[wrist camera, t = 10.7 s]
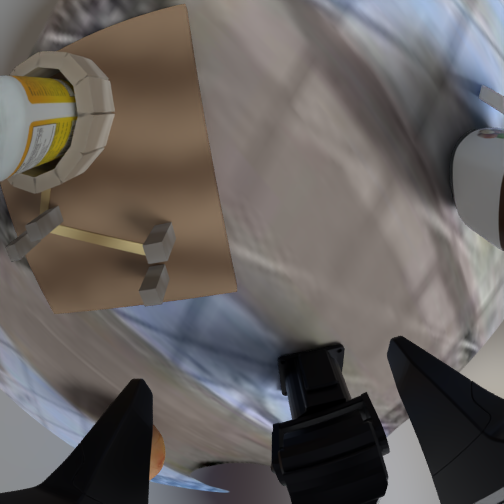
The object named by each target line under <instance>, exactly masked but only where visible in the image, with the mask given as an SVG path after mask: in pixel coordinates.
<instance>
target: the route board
mask: <svg viewBox="0 0 504 504" xmlns="http://www.w3.org/2000/svg"><path fill="white" fill-rule="evenodd" d="M9 76H27V77H41V78H52V79H62V80H68V81H69V82H70V83H71V84H72V85H73V86H74V93H75V100H76V106H77V112H78V118H77V121H76V125H75V130H74V134H73V138H72V143H71V147H70V148H69V149H68V151H67V152H66V153H65V155H64V156H63V157H61V158H58V159H55V160H52V161H50V162H47V163H44V164H42V165H39V166H36V167H34V168H31V169H29V170H26V171H24V172H21V173H19V174H17V175H14V176H12V177H10V178H8V179H5V180H3V181H1V182H0V184H1V187H2V191H3V194H4V198H5V201H6V204H7V208H8V211H9V214H10V217H11V220H12V222H13V225H14V228H15V231H16V233H17V236H18V237H17V238H16V239H15V240H13V241H12V242H11V243H10V244H9V245H7V246H6V250H7V252H8V255H9V257H10V259H11V262H13V261H17V260H20V259H22V258H23V257H24V256H26V258H27V260H28V263H29V265H30V267H31V269H32V271H33V274H34V276H35V278H36V280H37V282H38V284H39V286H40V288H41V290H42V292H43V294H44V296H45V298H46V299H47V301H48V303H49V305H50V307H51V309H52V310H53V312H54V314H61V313H71V312H82V311H92V310H101V309H111V308H119V307H128V306H137V305H145V306H152V305H160V304H162V302H168V301H176V300H183V299H190V298H197V297H204V296H211V295H218V294H224V293H231V292H237V283H236V278H235V273H234V269H233V264H232V259H231V254H230V249H229V244H228V239H227V234H226V229H225V224H224V219H223V214H222V209H221V204H220V199H219V194H218V188H217V183H216V178H215V172H214V167H213V162H212V156H211V151H210V145H209V140H208V134H207V129H206V123H205V117H204V112H203V106H202V100H201V94H200V88H199V82H198V76H197V70H196V64H195V58H194V51H193V45H192V39H191V32H190V26H189V19H188V12H187V8H186V5H185V4H181V5H177V6H172V7H168V8H165V9H161V10H157V11H154V12H150V13H147V14H144V15H141V16H138V17H135V18H132V19H129V20H126V21H123V22H120V23H118V24H115V25H112V26H110V27H107V28H105V29H102V30H100V31H98V32H95V33H93V34H91V35H89V36H86V37H84V38H82V39H80V40H78V41H76V42H74V43H72V44H70V45H68V46H66V47H64V48H62V49H60V50H58V51H56V52H51V51H41V52H38V53H36V54H35V55H33V56H31V57H30V58H28V59H27V60H25V61H24V62H22V63H21V64H20V65H18V66H17V67H15V70H13V71H12V72H11V74H10V75H9Z"/></svg>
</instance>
